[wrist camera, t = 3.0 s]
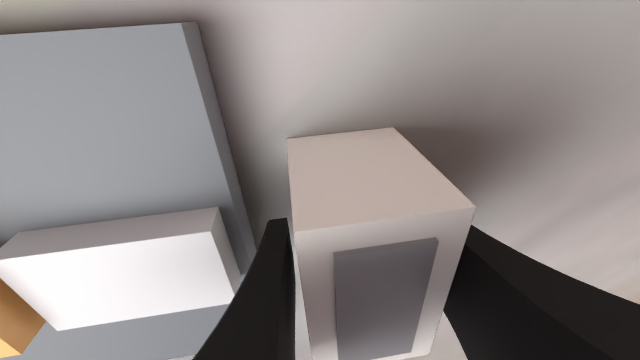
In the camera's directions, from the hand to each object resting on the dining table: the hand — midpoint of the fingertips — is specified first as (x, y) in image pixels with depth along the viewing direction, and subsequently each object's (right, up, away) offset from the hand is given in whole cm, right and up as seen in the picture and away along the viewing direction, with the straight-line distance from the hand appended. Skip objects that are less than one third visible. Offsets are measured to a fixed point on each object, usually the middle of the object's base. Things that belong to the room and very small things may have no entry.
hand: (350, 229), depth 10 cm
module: (0, +1, +1) cm, 2 cm away
